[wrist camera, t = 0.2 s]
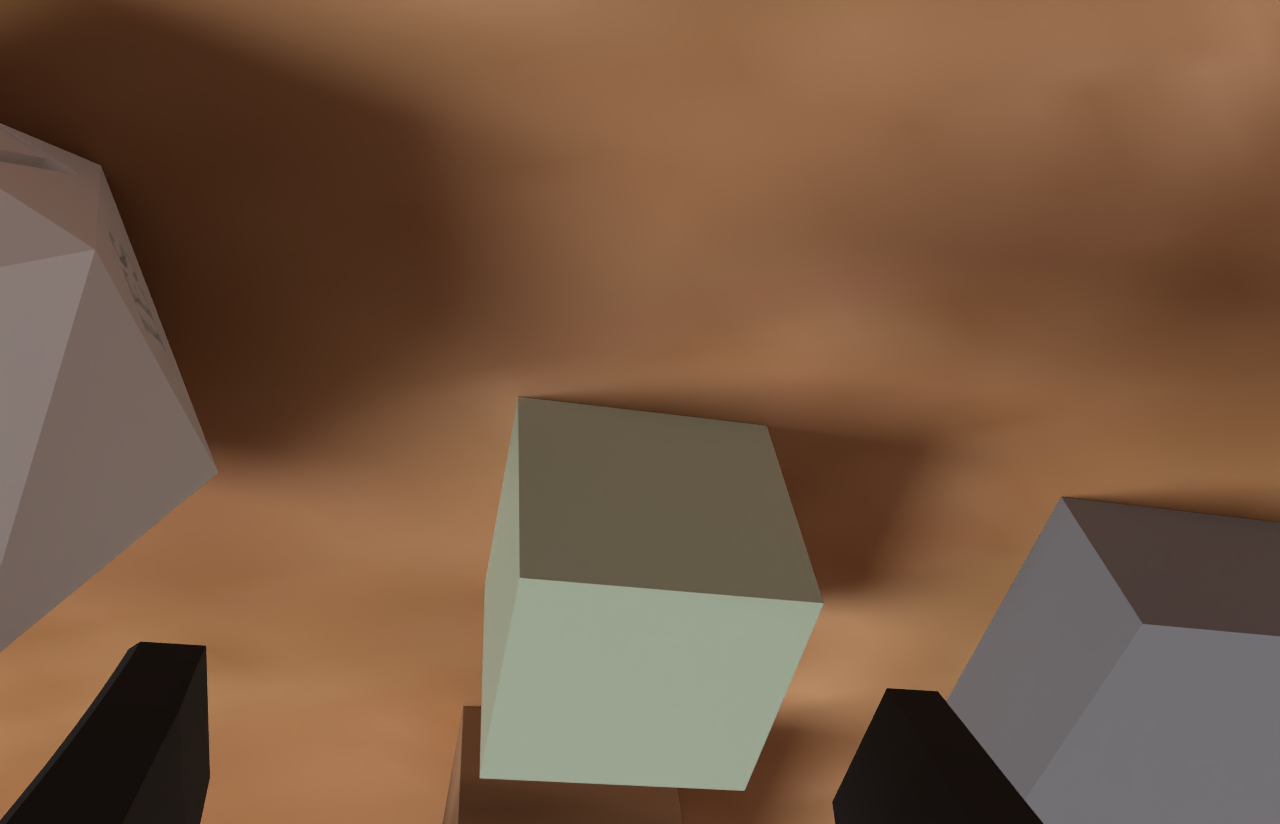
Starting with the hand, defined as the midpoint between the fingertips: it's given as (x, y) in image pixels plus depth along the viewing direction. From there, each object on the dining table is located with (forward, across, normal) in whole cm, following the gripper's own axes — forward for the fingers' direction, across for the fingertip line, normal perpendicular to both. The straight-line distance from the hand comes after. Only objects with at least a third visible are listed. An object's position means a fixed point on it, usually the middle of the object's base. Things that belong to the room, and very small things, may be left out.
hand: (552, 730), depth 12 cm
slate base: (+10, -16, +7) cm, 20 cm away
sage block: (+10, -2, +5) cm, 11 cm away
